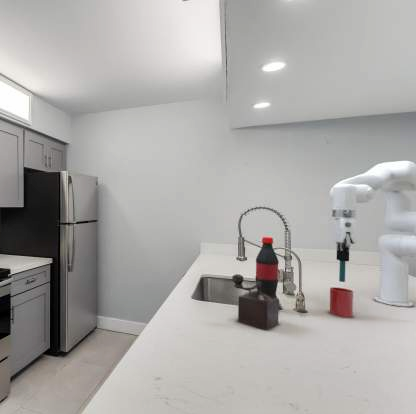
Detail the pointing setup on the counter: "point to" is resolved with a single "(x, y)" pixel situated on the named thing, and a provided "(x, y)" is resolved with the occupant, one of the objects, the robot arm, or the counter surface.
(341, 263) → the straw
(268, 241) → the cola bottle
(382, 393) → the counter surface
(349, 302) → the can
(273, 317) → the manual coffee grinder
